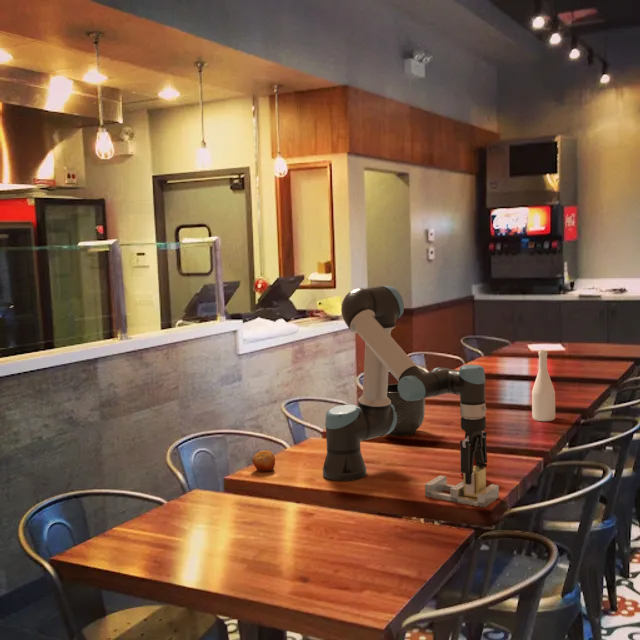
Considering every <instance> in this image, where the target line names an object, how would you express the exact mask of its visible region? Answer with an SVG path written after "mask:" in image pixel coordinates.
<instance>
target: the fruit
mask: <svg viewBox="0 0 640 640" xmlns="http://www.w3.org/2000/svg"><path fill="white" fill-rule="evenodd" d="M252 464H253V466H254V467H255V469H256V471H258V472H271V471H272V470H273V469H274V468H275V465H276V456H275V455H274V453H273V452H272V451H271V450H268V449H265V450H261V451H260V450H259V451H258V452H257V453H255V454H254V456H253V457H252Z"/></svg>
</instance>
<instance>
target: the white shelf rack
mask: <svg viewBox="0 0 640 640" xmlns="http://www.w3.org/2000/svg"><path fill="white" fill-rule="evenodd" d="M447 479H448V478H447V476H446V475H438V476H436V477H435V478H433V479H431V480H429V481H428V482H426V483H425V484H424V494H425V495H424V496H427V497H426V498H430V497H432V498H431V499H435V500H436V499H437V500H442V501H447V502H453V503H456V504H462V505H467V504H468V506H472V505H474V506H473V507H477V506H480V507H479V508H483V507H485V508H487V507H488V506H489V504H490V503H491V504H493V503H494V502H495V501H496V499H497V500H498V499H499V498H500V495H499V494H500V493H499V492H500V491H499V490H500V489H499V485H498V484H493V483H491V484H490V485H488V486H486V488H485V489H484V490H482V491H481V492H479V493H478V494H477V495H478V499H472V498H467V497H464V480H462V481H460V482H459V483H457V484H449V483H447ZM444 491H447V492H450V493H445V492H444ZM493 501H494V502H493ZM491 504H490V505H491ZM486 506H487V507H486Z"/></svg>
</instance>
